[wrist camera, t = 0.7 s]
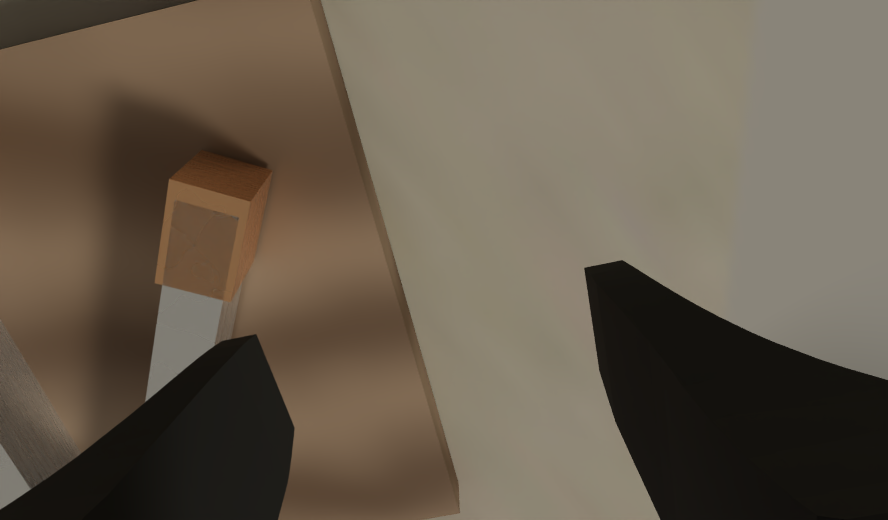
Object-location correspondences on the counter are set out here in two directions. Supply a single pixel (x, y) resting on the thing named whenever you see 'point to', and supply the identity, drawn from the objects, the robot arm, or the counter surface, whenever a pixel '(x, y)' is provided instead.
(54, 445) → the tongs fixed arm
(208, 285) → the tongs swing arm
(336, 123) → the walnut board
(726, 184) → the counter surface
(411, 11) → the counter surface
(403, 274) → the counter surface
